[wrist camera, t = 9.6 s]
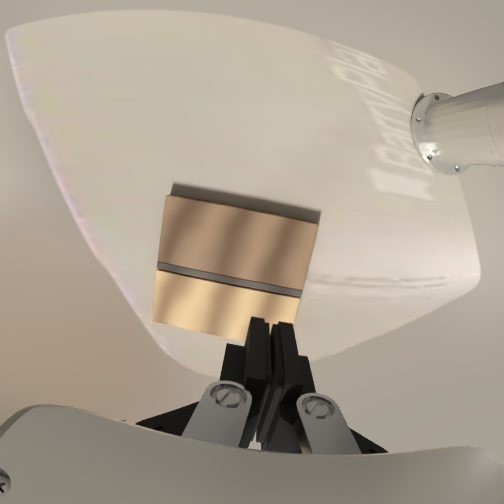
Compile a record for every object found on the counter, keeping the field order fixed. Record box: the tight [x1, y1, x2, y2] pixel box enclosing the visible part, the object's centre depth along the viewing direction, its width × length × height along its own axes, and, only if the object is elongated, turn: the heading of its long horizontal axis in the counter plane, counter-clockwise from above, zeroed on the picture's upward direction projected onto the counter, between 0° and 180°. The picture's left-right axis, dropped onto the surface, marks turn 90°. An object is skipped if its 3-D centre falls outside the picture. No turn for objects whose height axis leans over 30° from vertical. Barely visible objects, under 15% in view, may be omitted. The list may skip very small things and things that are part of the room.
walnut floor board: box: [157, 195, 319, 297], centre depth 40 cm, size 20×10×2 cm, turn 79°
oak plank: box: [152, 268, 300, 341], centre depth 42 cm, size 20×8×2 cm, turn 79°
